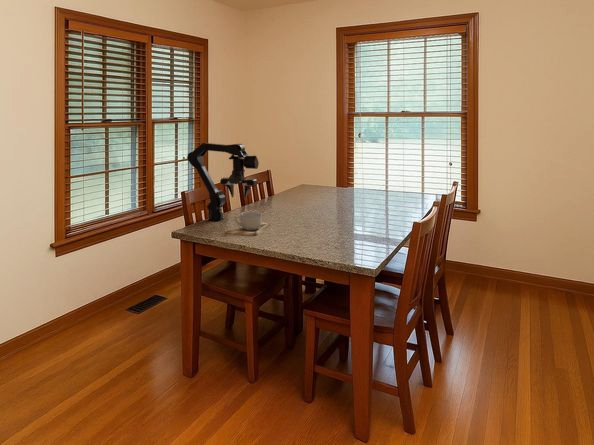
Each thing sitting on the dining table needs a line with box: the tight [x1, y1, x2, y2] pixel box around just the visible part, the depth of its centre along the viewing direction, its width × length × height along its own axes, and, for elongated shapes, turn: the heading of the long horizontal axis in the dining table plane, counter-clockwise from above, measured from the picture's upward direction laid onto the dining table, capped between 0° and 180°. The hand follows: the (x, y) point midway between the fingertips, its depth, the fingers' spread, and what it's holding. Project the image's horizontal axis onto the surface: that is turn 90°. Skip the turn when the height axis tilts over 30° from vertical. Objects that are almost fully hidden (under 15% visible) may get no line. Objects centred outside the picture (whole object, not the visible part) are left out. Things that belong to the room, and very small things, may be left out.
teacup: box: [233, 210, 263, 231], centre depth 228 cm, size 14×11×8 cm
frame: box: [224, 221, 271, 236], centre depth 228 cm, size 16×20×1 cm
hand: (239, 197), depth 242 cm, fingers open, 7 cm apart
